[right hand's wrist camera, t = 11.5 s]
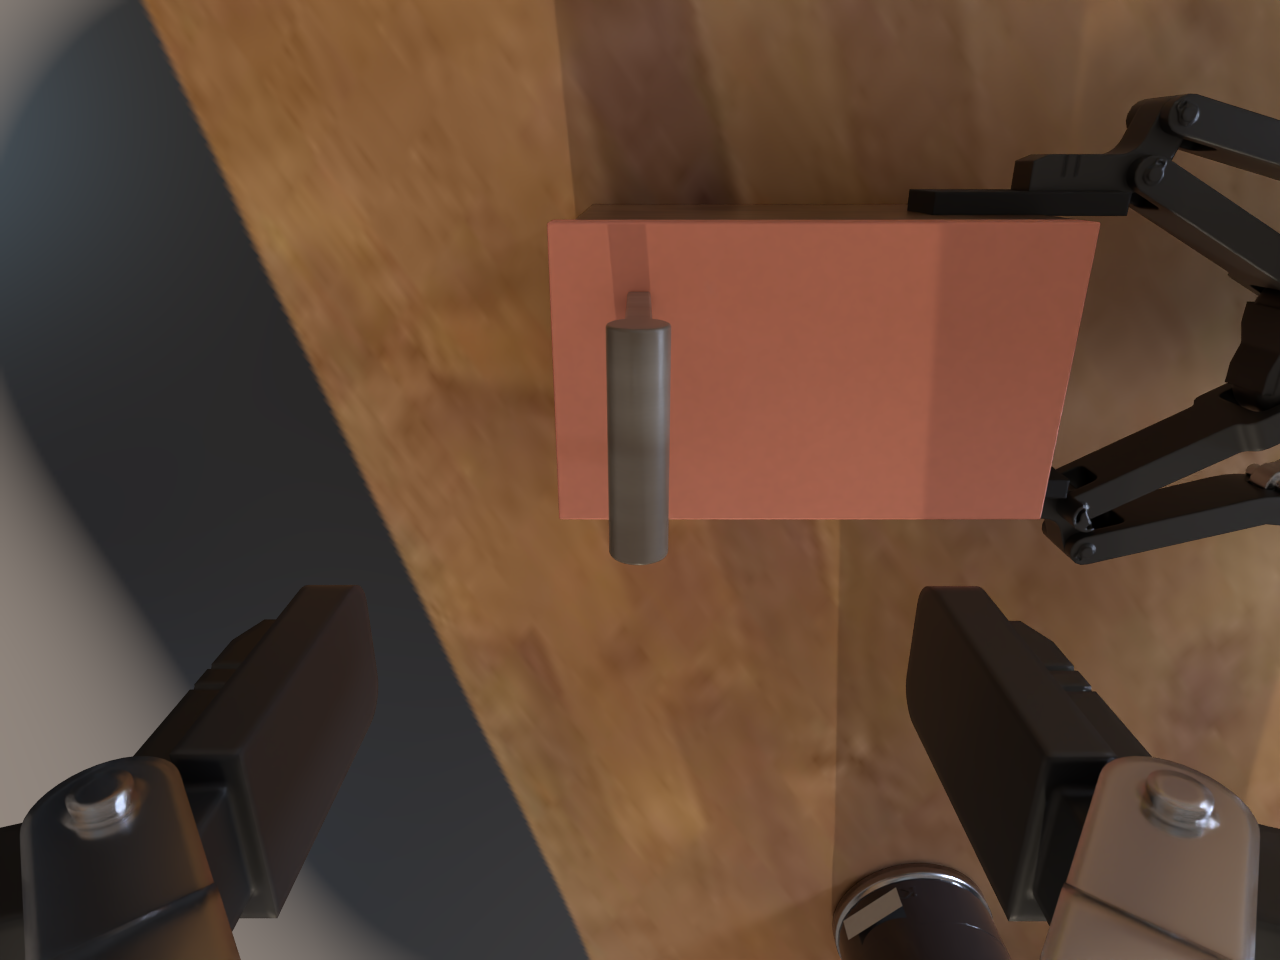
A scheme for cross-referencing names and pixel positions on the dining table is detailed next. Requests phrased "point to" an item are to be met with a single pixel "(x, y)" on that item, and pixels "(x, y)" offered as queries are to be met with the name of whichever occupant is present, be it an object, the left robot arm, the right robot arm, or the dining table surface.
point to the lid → (809, 368)
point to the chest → (777, 212)
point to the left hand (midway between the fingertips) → (902, 348)
